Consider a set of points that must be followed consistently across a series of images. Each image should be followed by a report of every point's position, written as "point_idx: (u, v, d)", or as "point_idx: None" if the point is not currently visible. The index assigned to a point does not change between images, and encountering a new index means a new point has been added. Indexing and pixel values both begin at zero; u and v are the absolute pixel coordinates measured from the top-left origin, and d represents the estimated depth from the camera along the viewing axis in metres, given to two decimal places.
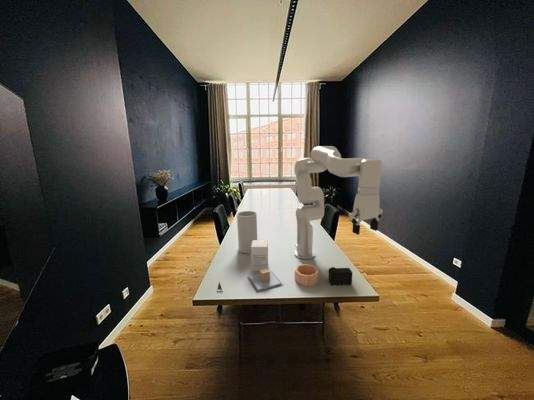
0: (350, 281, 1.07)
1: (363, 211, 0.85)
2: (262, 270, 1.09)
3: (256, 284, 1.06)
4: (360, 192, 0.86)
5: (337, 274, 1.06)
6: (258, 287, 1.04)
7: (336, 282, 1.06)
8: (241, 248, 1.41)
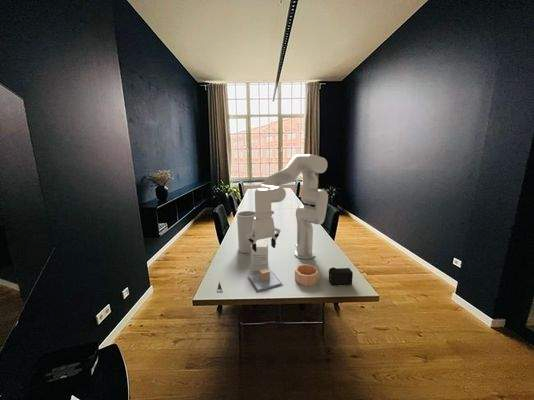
0: (350, 281, 1.06)
1: (257, 232, 1.00)
2: (262, 270, 1.09)
3: (256, 284, 1.06)
4: (255, 216, 1.01)
5: (338, 275, 1.05)
6: (258, 287, 1.04)
7: (336, 282, 1.06)
8: (241, 248, 1.41)
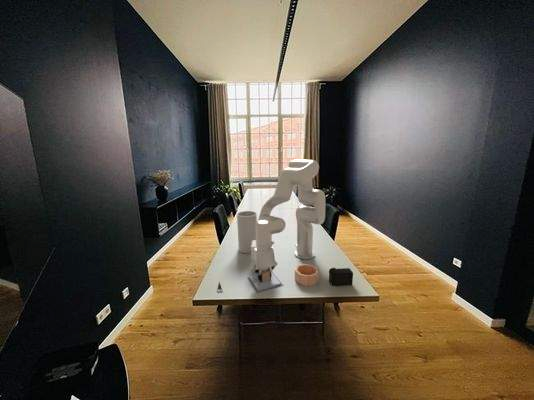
0: (351, 281, 1.06)
1: (258, 263, 1.04)
2: (262, 270, 1.09)
3: (256, 284, 1.06)
4: (256, 247, 1.05)
5: (338, 275, 1.05)
6: (258, 287, 1.04)
7: (336, 282, 1.06)
8: (241, 248, 1.41)
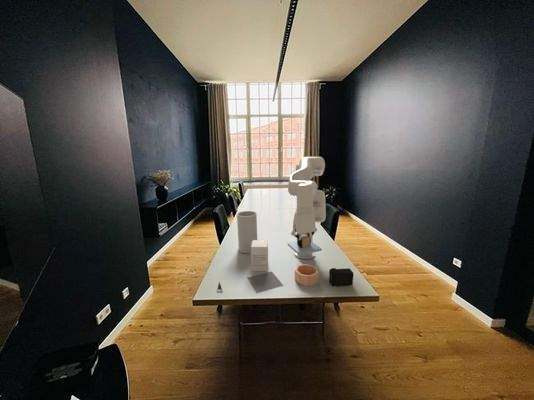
0: (351, 282, 1.06)
1: (299, 227, 1.01)
2: (302, 236, 1.06)
3: (296, 249, 1.03)
4: (297, 211, 1.02)
5: (338, 275, 1.05)
6: (299, 251, 1.01)
7: (337, 283, 1.06)
8: (241, 248, 1.41)
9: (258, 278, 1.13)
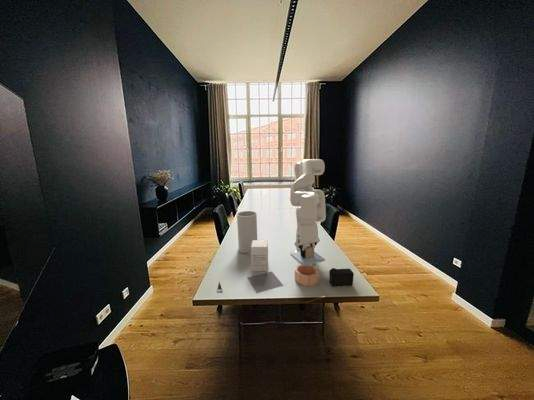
0: (351, 282, 1.06)
1: (302, 238, 1.02)
2: (305, 246, 1.07)
3: (300, 260, 1.04)
4: (300, 222, 1.03)
5: (339, 275, 1.05)
6: (303, 262, 1.02)
7: (337, 283, 1.05)
8: (241, 248, 1.41)
9: (258, 278, 1.13)
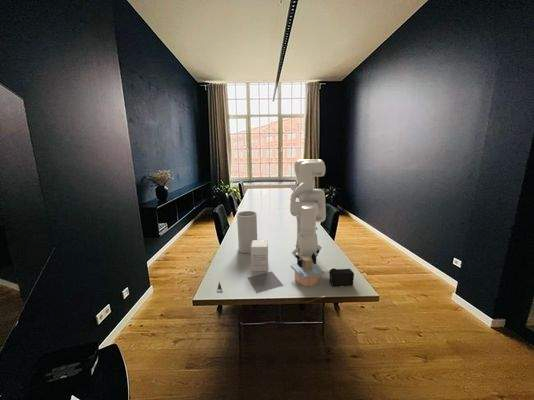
0: (351, 282, 1.06)
1: (302, 248, 1.04)
2: (304, 258, 1.09)
3: (300, 272, 1.06)
4: (300, 232, 1.05)
5: (339, 276, 1.05)
6: (303, 275, 1.04)
7: (337, 283, 1.05)
8: (241, 248, 1.41)
9: (258, 278, 1.13)
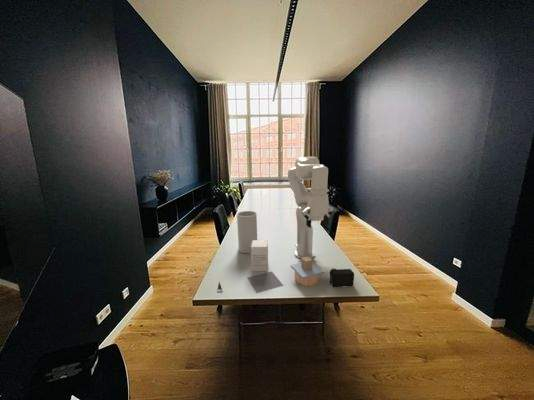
0: (352, 282, 1.06)
1: (313, 209, 1.04)
2: (304, 258, 1.09)
3: (300, 272, 1.06)
4: (311, 193, 1.05)
5: (339, 276, 1.04)
6: (303, 275, 1.04)
7: (338, 283, 1.05)
8: (241, 248, 1.41)
9: (258, 278, 1.13)
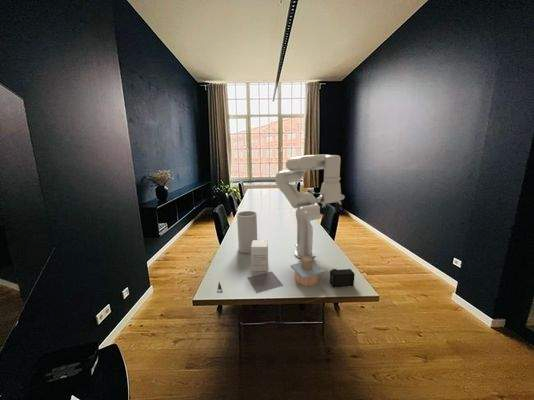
0: (352, 282, 1.05)
1: (327, 196, 1.08)
2: (304, 258, 1.09)
3: (300, 272, 1.06)
4: (324, 181, 1.09)
5: (340, 276, 1.04)
6: (303, 275, 1.04)
7: (338, 284, 1.05)
8: (241, 248, 1.41)
9: (258, 278, 1.13)
